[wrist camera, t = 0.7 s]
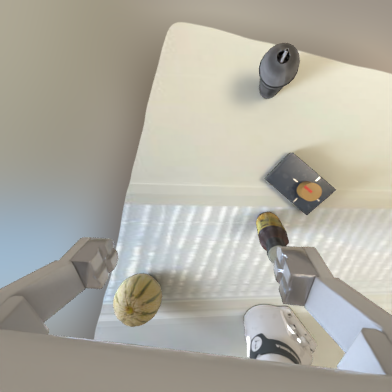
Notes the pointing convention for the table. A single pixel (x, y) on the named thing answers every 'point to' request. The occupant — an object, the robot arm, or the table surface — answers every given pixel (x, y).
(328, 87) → the table surface
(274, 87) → the beverage cup
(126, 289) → the cantaloupe
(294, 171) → the grey dial panel
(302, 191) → the tan cylinder
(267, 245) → the sauce bottle
